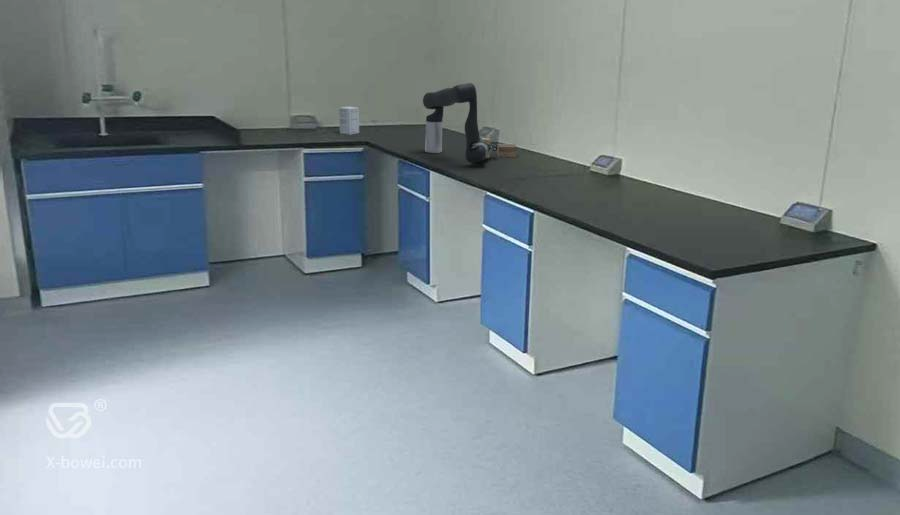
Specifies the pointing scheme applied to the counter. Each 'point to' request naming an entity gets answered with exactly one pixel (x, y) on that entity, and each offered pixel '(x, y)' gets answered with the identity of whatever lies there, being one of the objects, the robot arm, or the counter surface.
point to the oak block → (487, 140)
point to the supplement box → (349, 120)
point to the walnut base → (506, 150)
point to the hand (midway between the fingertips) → (486, 145)
